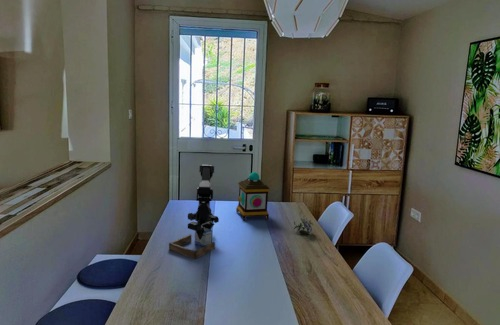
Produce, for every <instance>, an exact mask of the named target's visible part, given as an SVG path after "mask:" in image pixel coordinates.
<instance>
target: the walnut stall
mask: <svg viewBox="0 0 500 325" xmlns="http://www.w3.org/2000/svg"><path fill="white" fill-rule="evenodd" d="M190 242H192V234H188V235H185V236H183V237H180V238H178V239H175V240H173V241H171V242H169V244H168V250H169V251H171V252H174V253H176V254H179V255H182V256H184V257H187V258H190V259H193V260H197V259H199V258H201V257H202V256H203V255H206V254H208V253H210V252H211V251H215V249H216V242H214V241H213V242H211V243H210V244H208V245H206V246H202V247H201V248H198V249H196V250H193V249H189V248H186V247H184V246H183V245H185V244H189V243H190Z"/></svg>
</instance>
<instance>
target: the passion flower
mask: <svg viewBox="0 0 500 325" xmlns="http://www.w3.org/2000/svg"><path fill="white" fill-rule="evenodd" d="M300 220H301V222H300V223H299V224H298V225H297V224H296V221H293V225H295V226H294V228H293V230H295V229H296V234H297V233H298V232H299V231H300V229H302V231H305V229H306V232H307V235H309V236H310V235H312V233H311V232H312V231H313V228H312V227H313V226H314V223H313V222H312V220H311V219H309V220H307V219H305V218H303V217H300Z"/></svg>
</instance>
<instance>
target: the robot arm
mask: <svg viewBox="0 0 500 325" xmlns="http://www.w3.org/2000/svg"><path fill="white" fill-rule="evenodd" d="M198 169H199V171H198V172H199V173H200V177H201V182H199V183H198V187H197V188H196V199H195V201H197V202H198V205H197V210H196V212H194V213H193V212H191V213H190V212H189V213H188V214H187V220H189V221H190V222H188V223H187V229H189V230H190V231H191V230H192V231H194V232H195V231H196V232H197V235H198V238H199V239H200V240H201V238H202V235H203V231H204V228H202V227H205V228H208V229H211V230H212V228H213V227H214V225H215V224H217V223H219V220H220V218H219V217H218V216H217V215H214V214H213V212H212V209H211V206H210V205H211V202H212V200H213V199H214V190H213V188H212V184H211V180H212V178H213V176H214V174H215V165H213V164H201V165H199V168H198ZM194 220H195V221H194Z"/></svg>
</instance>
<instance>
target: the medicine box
mask: <svg viewBox="0 0 500 325" xmlns="http://www.w3.org/2000/svg"><path fill="white" fill-rule="evenodd" d="M202 228H204V231H203V235H202V238H201V240H200V239H199V238H198V235H197V232H196V231H194V244H196V245H199V246H202V247H204V246H206V245H208V244H210V243H212V233H213V230H212V229H208V228H205V227H202Z"/></svg>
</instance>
